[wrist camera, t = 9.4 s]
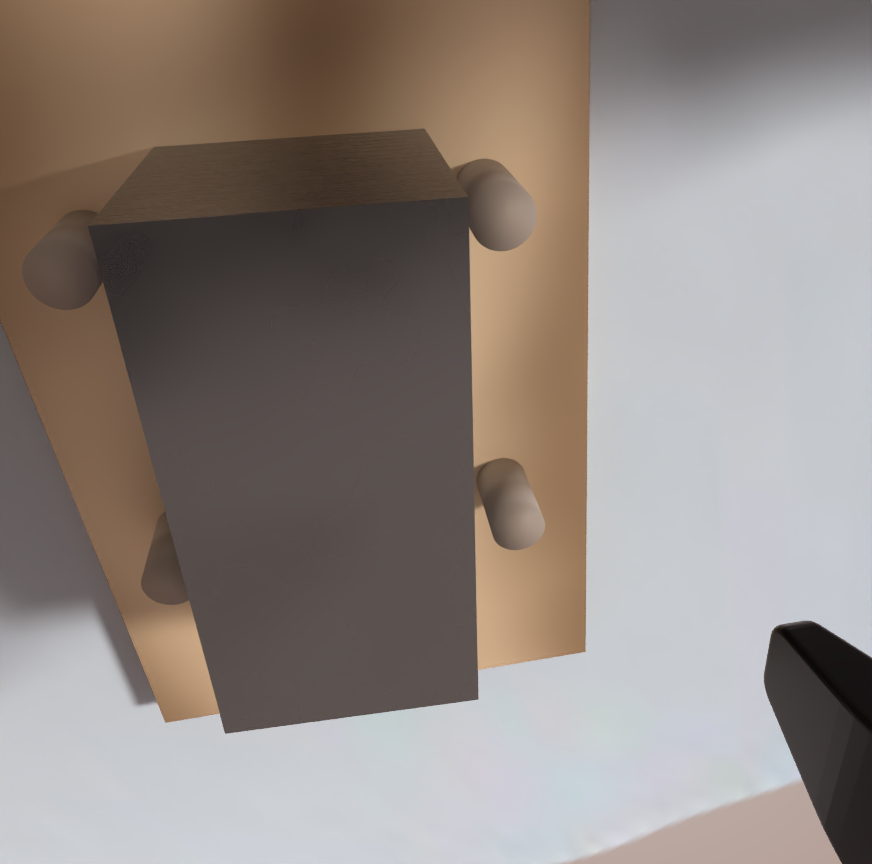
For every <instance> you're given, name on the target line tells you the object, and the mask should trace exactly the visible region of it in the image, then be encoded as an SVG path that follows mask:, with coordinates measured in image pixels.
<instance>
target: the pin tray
mask: <svg viewBox="0 0 872 864" xmlns="http://www.w3.org/2000/svg"><path fill="white" fill-rule="evenodd" d="M589 95H590V0H0V321H1V324H2V326H3V329H4V331H5V333H6V336H7V338H8V341H9V343H10V346H11V348H12V350H13V353H14V355H15V358H16V360H17V363H18V365H19V368H20V370H21V372H22V375H23V377H24V380H25V382H26V385H27V387H28V389H29V392H30V394H31V397H32V399H33V402H34V404H35V406H36V409H37V411H38V414H39V416H40V419H41V421H42V423H43V426H44V428H45V431H46V433H47V436H48V438H49V440H50V443H51V445H52V448H53V450H54V453H55V455H56V457H57V460H58V462H59V465H60V467H61V470H62V472H63V474H64V477H65V479H66V482H67V484H68V487H69V489H70V491H71V494H72V496H73V499H74V501H75V504H76V506H77V509H78V511H79V513H80V516H81V518H82V521H83V523H84V526H85V528H86V530H87V533H88V535H89V538H90V540H91V543H92V545H93V547H94V550H95V552H96V555H97V557H98V560H99V562H100V564H101V567H102V569H103V572H104V574H105V577H106V579H107V581H108V584H109V586H110V589H111V591H112V594H113V596H114V598H115V601H116V603H117V606H118V608H119V611H120V613H121V615H122V618H123V620H124V623H125V625H126V628H127V630H128V632H129V635H130V637H131V640H132V642H133V645H134V647H135V649H136V652H137V654H138V657H139V659H140V662H141V664H142V667H143V669H144V671H145V674H146V676H147V679H148V681H149V684H150V686H151V688H152V691H153V693H154V696H155V698H156V701H157V703H158V705H159V708H160V710H161V713H162V715H163V718H164V720H165V722H172V721H178V720H184V719H190V718H196V717H202V716H208V715H214V714H220V712H219V709H218V705H217V701H216V698H215V694H214V690H213V687H212V683H211V679H210V676H209V672H208V668H207V664H206V661H205V657H204V653H203V650H202V646H201V642H200V639H199V635H198V631H197V627H196V624H195V620H194V616H193V613H192V609H191V605H190V602H189V598H188V594H187V591H186V587H185V583H184V579H183V576H182V572H181V568H180V565H179V561H178V557H177V554H176V550H175V546H174V543H173V539H172V535H171V531H170V528H169V524H168V520H167V517H166V513H165V509H164V506H163V502H162V498H161V495H160V491H159V487H158V483H157V480H156V476H155V472H154V469H153V465H152V461H151V458H150V454H149V450H148V446H147V443H146V439H145V435H144V432H143V428H142V424H141V421H140V417H139V413H138V410H137V406H136V402H135V398H134V395H133V391H132V387H131V384H130V380H129V376H128V373H127V369H126V365H125V362H124V358H123V354H122V350H121V347H120V343H119V339H118V336H117V332H116V328H115V325H114V321H113V317H112V314H111V310H110V306H109V302H108V299H107V295H106V291H105V288H104V284H103V280H102V277H101V273H100V269H99V265H98V262H97V258H96V254H95V251H94V247H93V243H92V240H91V236H90V232H89V229H88V225H89V224H90V223H91V222H92V220H93V219H94V218H95V217H96V216H97V214H98V213H99V212H100V211H101V210H102V208H103V207H104V206H105V205H106V204H107V202H108V201H109V200H110V199H111V198H112V196H113V195H114V194H115V193H116V192H117V190H118V189H119V188H120V187H121V186H122V184H123V183H124V182H125V181H126V180H127V178H128V177H129V176H130V175H131V174H132V172H133V171H134V170H135V169H136V168H137V166H138V165H139V164H140V163H141V162H142V160H143V159H144V158H145V157H146V156H147V154H148V153H149V152H150V151H151V150H152V148H153V147H160V146H174V145H189V144H204V143H218V142H233V141H248V140H262V139H277V138H291V137H306V136H321V135H335V134H350V133H364V132H379V131H394V130H408V129H423V128H425V130H426V131H427V133H428V134H429V136H430V137H431V139H432V141H433V142H434V144H435V145H436V147H437V148H438V150H439V152H440V153H441V155H442V156H443V158H444V159H445V161H446V162H447V164H448V166H449V167H450V169H451V170H452V172H453V173H454V175H455V177H456V178H457V180H458V181H459V183H460V184H461V186H462V187H463V189H464V191H465V192H466V194H467V195H468V197H469V248H470V299H471V350H472V401H473V452H474V503H475V554H476V606H477V657H478V670H480V669H486V668H492V667H498V666H504V665H510V664H515V663H521V662H527V661H533V660H539V659H545V658H551V657H557V656H563V655H569V654H575V653H581V652H585V637H586V501H587V366H588V230H589Z"/></svg>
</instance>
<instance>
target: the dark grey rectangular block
mask: <svg viewBox="0 0 872 864" xmlns="http://www.w3.org/2000/svg"><path fill="white" fill-rule="evenodd" d="M88 229H89V232H90V236H91V240H92V243H93V247H94V251H95V254H96V258H97V262H98V265H99V269H100V273H101V277H102V280H103V284H104V288H105V291H106V295H107V299H108V302H109V306H110V310H111V314H112V317H113V321H114V325H115V328H116V332H117V336H118V339H119V343H120V347H121V350H122V354H123V358H124V362H125V365H126V369H127V373H128V376H129V380H130V384H131V387H132V391H133V395H134V398H135V402H136V406H137V410H138V413H139V417H140V421H141V424H142V428H143V432H144V435H145V439H146V443H147V446H148V450H149V454H150V458H151V461H152V465H153V469H154V472H155V476H156V480H157V483H158V487H159V491H160V495H161V498H162V502H163V506H164V509H165V513H166V517H167V520H168V524H169V528H170V531H171V535H172V539H173V543H174V546H175V550H176V554H177V557H178V561H179V565H180V568H181V572H182V576H183V579H184V583H185V587H186V591H187V594H188V598H189V602H190V605H191V609H192V613H193V616H194V620H195V624H196V627H197V631H198V635H199V639H200V642H201V646H202V650H203V653H204V657H205V661H206V664H207V668H208V672H209V676H210V679H211V683H212V687H213V690H214V694H215V698H216V701H217V705H218V709H219V712H220V716H221V720H222V724H223V727H224V731H225V734H226V733H233V732H241V731H248V730H255V729H263V728H270V727H278V726H285V725H293V724H300V723H307V722H315V721H322V720H330V719H337V718H344V717H352V716H359V715H367V714H374V713H381V712H389V711H396V710H404V709H411V708H419V707H426V706H433V705H441V704H448V703H456V702H463V701H470V700H478V657H477V606H476V554H475V503H474V452H473V401H472V350H471V299H470V248H469V197H468V195H467V194H466V192H465V191H464V189H463V187H462V186H461V184H460V183H459V181H458V180H457V178H456V177H455V175H454V173H453V172H452V170H451V169H450V167H449V166H448V164H447V162H446V161H445V159H444V158H443V156H442V155H441V153H440V152H439V150H438V148H437V147H436V145H435V144H434V142H433V141H432V139H431V137H430V136H429V134H428V133H427V131H426V130H425V128H423V129H408V130H394V131H379V132H364V133H350V134H335V135H321V136H306V137H291V138H277V139H262V140H248V141H233V142H218V143H204V144H189V145H174V146H160V147H153V148H152V150H151V151H150V152H149V153H148V154H147V156H146V157H145V158H144V159H143V160H142V162H141V163H140V164H139V165H138V166H137V168H136V169H135V170H134V171H133V172H132V174H131V175H130V176H129V177H128V178H127V180H126V181H125V182H124V183H123V184H122V186H121V187H120V188H119V189H118V190H117V192H116V193H115V194H114V195H113V196H112V198H111V199H110V200H109V201H108V202H107V204H106V205H105V206H104V207H103V208H102V210H101V211H100V212H99V213H98V214H97V216H96V217H95V218H94V219H93V220H92V222H91V223H90V224H89V225H88Z"/></svg>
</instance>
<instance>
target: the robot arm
mask: <svg viewBox="0 0 872 864" xmlns="http://www.w3.org/2000/svg"><path fill="white" fill-rule="evenodd" d="M764 684H765V689H766V693H767V696H768V699H769V701H770V704H771V706H772V708H773V711H774V713H775V716H776V718H777V720H778V723H779V725H780V727H781V730H782V732H783V735H784V737H785V739H786V742H787V744H788V747H789V749H790V751H791V754H792V756H793V758H794V761H795V763H796V766H797V768H798V770H799V773H800V775H801V777H802V780H803V782H804V785H805V787H806V789H807V792H808V794H809V797H810V799H811V801H812V803H813V806H814V808H815V810H816V813H817V815H818V817H819V819H820V822H821V824H822V826H823V828H824V830H825V832H826V834H827V836H828V838H829V840H830V842H831V844H832V846H833V848H834V850H835V852H836V853H837V855H838V857H839V859H840V861H841V862H842V864H872V658H871V657H870V656H868V655H867V654H865V653H864V652H862V651H860V650H859V649H857V648H856V647H854V646H853V645H851V644H849V643H848V642H846V641H845V640H843V639H841V638H840V637H838V636H837V635H835V634H834V633H832V632H830V631H829V630H827V629H826V628H824V627H822V626H821V625H819V624H817V623H815V622H812V621H800V622H794V623H788V624H782V625H778V626H776V627H775V628H774V630H773V631H772V634H771V638H770V644H769V649H768V655H767V661H766V666H765V672H764Z"/></svg>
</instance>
